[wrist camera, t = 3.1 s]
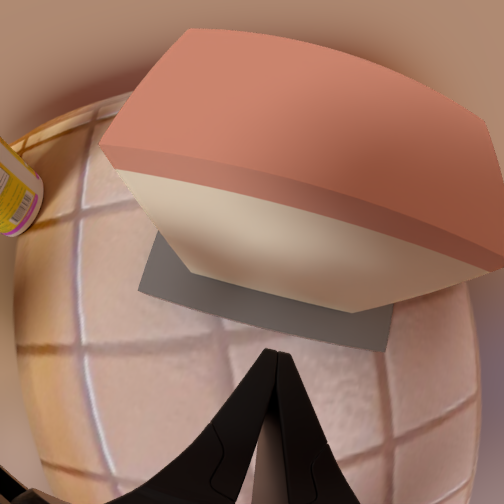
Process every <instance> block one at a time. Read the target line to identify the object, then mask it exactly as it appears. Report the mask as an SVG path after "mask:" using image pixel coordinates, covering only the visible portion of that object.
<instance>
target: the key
mask: <svg viewBox="0 0 504 504" xmlns="http://www.w3.org/2000/svg"><path fill="white" fill-rule="evenodd" d="M98 144H99V146H100V148H101V149H102V151H103V152H104V154H105V155H106V157H107V158H108V160H109V161H110V163H111V164H112V166H113V167H114V169H115V170H116V172H117V173H118V175H119V176H120V177H121V179H122V180H123V182H124V183H125V185H126V186H127V188H128V189H129V190H130V192H131V193H132V195H133V196H134V197H135V199H136V200H137V202H138V203H139V204H140V206H141V207H142V209H143V210H144V211H145V213H146V214H147V216H148V217H149V218H150V220H151V221H152V222H153V224H154V225H155V226H156V228H157V229H158V230H159V232H160V233H161V234H162V236H163V237H164V238H165V240H166V241H167V242H168V244H169V245H170V246H171V247H172V249H173V250H174V251H175V253H176V254H177V255H178V257H179V258H180V259H181V260H182V262H183V263H184V264H185V265H186V267H187V268H188V269H189V270H190V272H191V273H195V274H198V275H202V276H205V277H209V278H213V279H216V280H220V281H224V282H227V283H231V284H235V285H238V286H242V287H246V288H250V289H254V290H258V291H261V292H265V293H269V294H273V295H277V296H281V297H285V298H289V299H293V300H297V301H302V302H306V303H310V304H314V305H318V306H323V307H327V308H331V309H336V310H340V311H344V312H349V313H355V312H360V311H364V310H368V309H372V308H376V307H380V306H384V305H388V304H392V303H396V302H399V301H403V300H407V299H410V298H414V297H417V296H421V295H424V294H427V293H431V292H434V291H437V290H441V289H444V288H447V287H450V286H453V285H456V284H459V283H462V282H465V281H468V280H471V279H474V278H476V277H479V276H482V275H485V274H488V273H490V272H493V271H495V270H498V269H501V268H503V267H504V183H503V179H502V174H501V171H500V167H499V164H498V160H497V156H496V153H495V150H494V147H493V144H492V141H491V138H490V135H489V132H488V129H487V126H486V124H485V121H483V120H482V119H481V118H479V117H478V116H476V115H475V114H473V113H472V112H470V111H468V110H467V109H465V108H464V107H462V106H461V105H459V104H457V103H456V102H454V101H452V100H451V99H449V98H447V97H445V96H444V95H442V94H440V93H438V92H436V91H435V90H433V89H431V88H429V87H427V86H425V85H423V84H421V83H419V82H417V81H415V80H413V79H411V78H409V77H406V76H404V75H402V74H400V73H397V72H395V71H393V70H390V69H388V68H386V67H383V66H380V65H378V64H375V63H373V62H370V61H367V60H365V59H362V58H359V57H356V56H353V55H349V54H347V53H344V52H340V51H337V50H334V49H330V48H327V47H323V46H319V45H315V44H311V43H307V42H303V41H298V40H293V39H288V38H283V37H278V36H272V35H265V34H259V33H251V32H242V31H233V30H220V29H196V28H192V29H191V28H190V29H188V30H187V31H186V32H185V33H184V34H183V35H182V36H181V37H180V38H179V39H178V40H177V41H176V42H175V43H174V44H173V45H172V47H171V48H170V49H169V50H168V51H167V52H166V53H165V54H164V55H163V56H162V57H161V59H160V60H159V61H158V62H157V63H156V64H155V65H154V67H153V68H152V69H151V70H150V72H149V73H148V74H147V75H146V76H145V78H144V79H143V80H142V81H141V83H140V84H139V85H138V86H137V88H136V89H135V90H134V92H133V93H132V94H131V96H130V97H129V98H128V100H127V101H126V102H125V104H124V105H123V107H122V108H121V109H120V111H119V112H118V114H117V115H116V117H115V118H114V120H113V121H112V123H111V124H110V126H109V127H108V129H107V130H106V132H105V134H104V135H103V137H102V138H101V140H100V142H99V143H98Z"/></svg>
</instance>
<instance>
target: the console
mask: <svg viewBox="0 0 504 504" xmlns="http://www.w3.org/2000/svg"><path fill="white" fill-rule="evenodd" d="M138 291H140V292H142V293H144V294H146V295H149V296H152V297H155V298H158V299H161V300H164V301H168V302H171V303H174V304H177V305H180V306H183V307H187V308H190V309H193V310H197V311H200V312H203V313H207V314H210V315H214V316H217V317H221V318H225V319H228V320H232V321H236V322H239V323H243V324H247V325H251V326H255V327H259V328H263V329H267V330H271V331H275V332H279V333H284V334H288V335H292V336H297V337H301V338H306V339H311V340H315V341H320V342H325V343H330V344H335V345H340V346H346V347H351V348H357V349H363V350H368V351H375V352H385V351H386V346H387V341H388V335H389V330H390V324H391V318H392V312H393V305H394V303H392V304H388V305H384V306H380V307H376V308H372V309H368V310H364V311H360V312H355V313H349V312H344V311H340V310H336V309H331V308H327V307H323V306H318V305H314V304H310V303H306V302H302V301H297V300H293V299H289V298H285V297H281V296H277V295H273V294H269V293H265V292H261V291H258V290H254V289H250V288H246V287H242V286H238V285H235V284H231V283H227V282H224V281H220V280H216V279H213V278H209V277H205V276H202V275H198V274H195V273H191V272H190V270H189V269H188V268H187V267H186V265H185V264H184V263H183V262H182V260H181V259H180V258H179V257H178V255H177V254H176V253H175V251H174V250H173V249H172V247H171V246H170V245H169V244H168V242H167V241H166V240H165V238H164V237H163V236H162V234H161V233H160V232H159V230H158V233H157V235H156V238H155V241H154V244H153V246H152V249H151V252H150V255H149V258H148V261H147V264H146V267H145V270H144V273H143V276H142V279H141V282H140V285H139V288H138Z"/></svg>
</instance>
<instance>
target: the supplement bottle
mask: <svg viewBox="0 0 504 504" xmlns="http://www.w3.org/2000/svg"><path fill="white" fill-rule="evenodd" d="M43 193H44V187H43V182H42V179H41V178H40V176H39V175H38V174H37V173H36V172H35V171H34V170H33V169H32V168H31V167H30V166H29V165H28V164H27V163H26V162H25V161H24V160H23V159H22V158H21V157H20V156H19V155H18V154H17V153H16V152H15V151H14V150H13V149H12V148H11V147H10V146H9V145H8V144H7V143H6V142H5V141H4V140H3V139H2V138H1V137H0V233H1V234H4V235H5V236H9V237H14V236H18V235H19V234H21V233H22V232H24V231H25V230H26V229H27V228H28V227H29V226H30V225H31V224H32V222H33V221H34V219H35V218H36V216H37V214H38V212H39V209H40V207H41V204H42V200H43Z"/></svg>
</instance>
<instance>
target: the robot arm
mask: <svg viewBox="0 0 504 504" xmlns="http://www.w3.org/2000/svg"><path fill="white" fill-rule="evenodd" d="M257 441H258V445H257V455H256V465H255V474H254V484H253V493H252V502H251V504H360V502H359V501H358V499H357V497H356V496H355V494H354V492H353V491H352V489H351V487H350V486H349V484H348V483H347V481H346V479H345V477H344V476H343V474H342V472H341V470H340V468H339V466H338V464H337V462H336V460H335V458H334V456H333V453H332V451H331V449H330V446H329V444H327V439H326V437H325V435H324V432H323V430H322V428H321V425H320V423H319V420H318V418H317V416H316V413H315V411H314V409H313V406H312V404H311V401H310V399H309V397H308V394H307V392H306V390H305V387H304V385H303V382H302V380H301V378H300V375H299V373H298V370H297V368H296V366H295V363H294V361H293V358H292V356H291V354H289V353H285V352H281V351H279V352H277V351H276V350H272V349H268V348H265V349H264V350H263V351H262V353H261V354H260V356H259V357H258V358H257V360H256V361H255V363H254V364H253V365H252V367H251V368H250V370H249V371H248V372H247V374H246V375H245V377H244V378H243V379H242V381H241V382H240V383H239V385H238V386H237V387H236V389H235V390H234V391H233V393H232V394H231V395H230V397H229V398H228V399H227V401H226V402H225V403H224V405H223V406H222V407H221V409H220V410H219V411H218V412H217V414H216V415H215V416H214V418H213V419H212V420H211V422H210V423H209V424H208V425H207V426H206V427H205V429H204V430H203V431H202V432H201V434H200V435H199V436H198V437H197V438H196V439H195V440H194V441H193V443H192V444H191V445H190V446H189V447H187V448H186V449H185V450H184V451H183V452H182V453H181V454H180V455H179V456H178V457H177V458H175V459H174V460H173V461H172V462H171V463H169V464H168V465H167V466H166V467H165V468H163V469H162V470H161V471H160V472H158V473H157V474H156V475H155V476H153V477H152V478H151V479H150V480H148V481H147V482H145V483H144V484H142V485H141V486H139V487H138V488H136V489H134V490H133V491H131V492H129V493H127V494H125V495H123V496H120V497H118V498H116V499H114V500H112V501H109V502H107V503H105V504H235V502H236V501H237V498H238V495H239V493H240V490H241V487H242V484H243V482H244V479H245V476H246V473H247V470H248V468H249V465H250V462H251V459H252V456H253V453H254V450H255V447H256V444H257ZM0 504H70V503H68V502H65V501H63V500H60V499H58V498H55V497H53V496H50V495H48V494H45V493H44V492H41V491H39V490H37V489H34V488H31V489H28V488H27V487H25V486H24V485H23V484H22V483H20V482H19V481H18V480H17V479H16V478H15V477H13V476H12V475H11V474H10V473H9V472H8V471H7V470H5V469H4V468H3V467H2V466H1V465H0Z"/></svg>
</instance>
